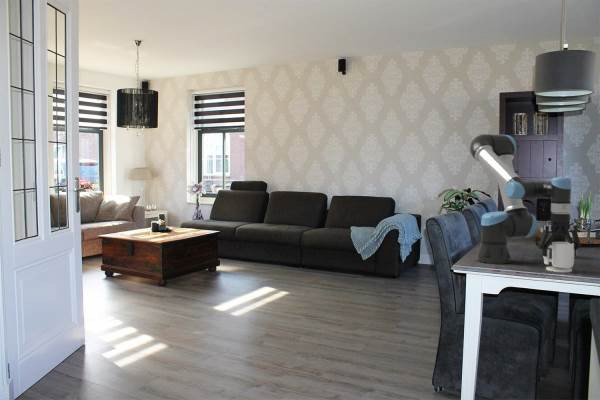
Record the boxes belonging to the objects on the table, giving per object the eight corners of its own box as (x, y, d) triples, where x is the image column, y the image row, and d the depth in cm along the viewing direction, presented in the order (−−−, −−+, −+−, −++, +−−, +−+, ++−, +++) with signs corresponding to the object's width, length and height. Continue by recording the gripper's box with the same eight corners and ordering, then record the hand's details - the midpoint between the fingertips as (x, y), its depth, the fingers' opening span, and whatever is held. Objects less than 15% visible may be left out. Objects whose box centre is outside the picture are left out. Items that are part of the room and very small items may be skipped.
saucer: (553, 272, 216) (554, 270, 216) (541, 268, 226) (541, 266, 226) (576, 272, 217) (576, 270, 217) (563, 267, 227) (563, 265, 227)
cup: (573, 268, 215) (574, 245, 214) (542, 266, 220) (542, 243, 220) (572, 265, 222) (573, 242, 222) (542, 263, 228) (543, 240, 227)
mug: (564, 258, 249) (565, 234, 249) (532, 255, 258) (532, 232, 257) (567, 255, 258) (568, 232, 257) (536, 252, 267) (537, 230, 266)
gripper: (539, 214, 216) (537, 265, 217) (591, 213, 217) (589, 265, 218) (530, 212, 223) (528, 262, 224) (581, 212, 224) (579, 261, 226)
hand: (558, 263), depth 221 cm, fingers closed on cup, 10 cm apart
